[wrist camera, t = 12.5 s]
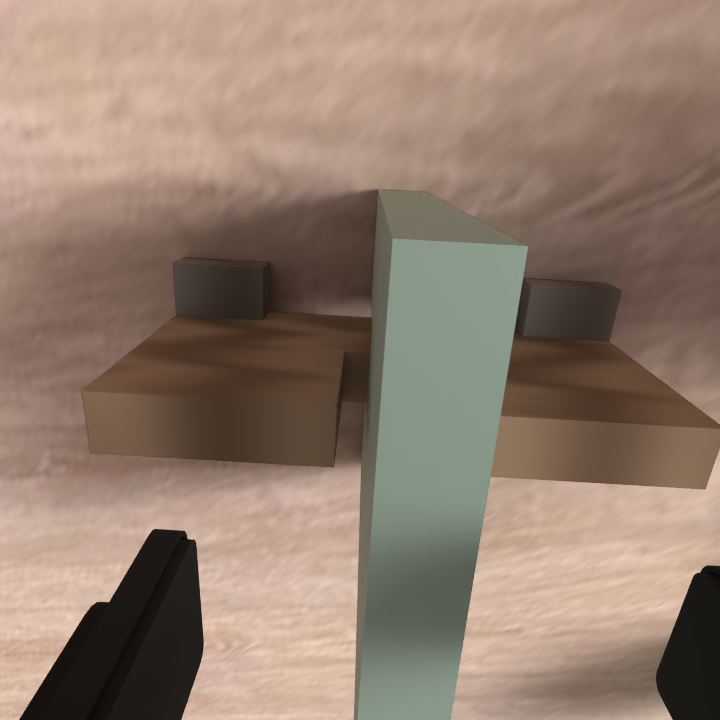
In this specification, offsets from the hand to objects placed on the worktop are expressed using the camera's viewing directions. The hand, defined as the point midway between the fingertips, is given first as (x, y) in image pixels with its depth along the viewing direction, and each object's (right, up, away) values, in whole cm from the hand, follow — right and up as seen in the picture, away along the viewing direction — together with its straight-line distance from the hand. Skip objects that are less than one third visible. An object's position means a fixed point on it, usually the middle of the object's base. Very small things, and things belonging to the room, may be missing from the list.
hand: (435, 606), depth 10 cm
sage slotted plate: (0, +6, +16) cm, 17 cm away
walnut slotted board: (0, +6, +16) cm, 17 cm away
